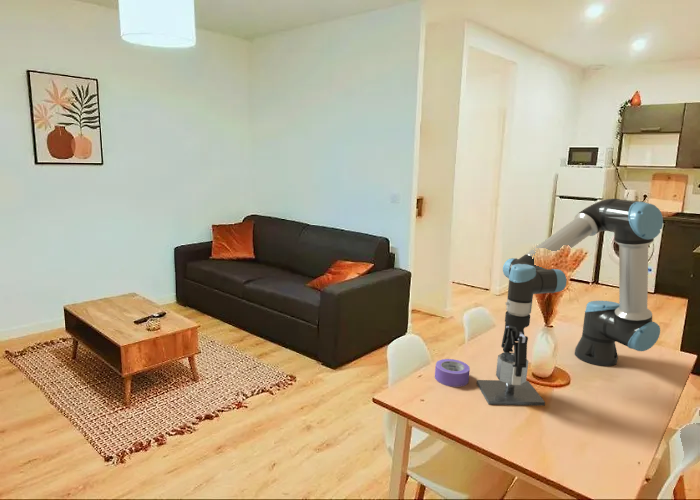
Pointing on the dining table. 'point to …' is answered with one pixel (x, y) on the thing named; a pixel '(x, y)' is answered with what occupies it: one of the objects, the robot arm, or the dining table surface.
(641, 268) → the robot arm
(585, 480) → the dining table surface
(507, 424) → the dining table surface
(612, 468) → the dining table surface
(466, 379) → the tape roll
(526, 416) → the dining table surface
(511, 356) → the ring
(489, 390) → the shaft stand
